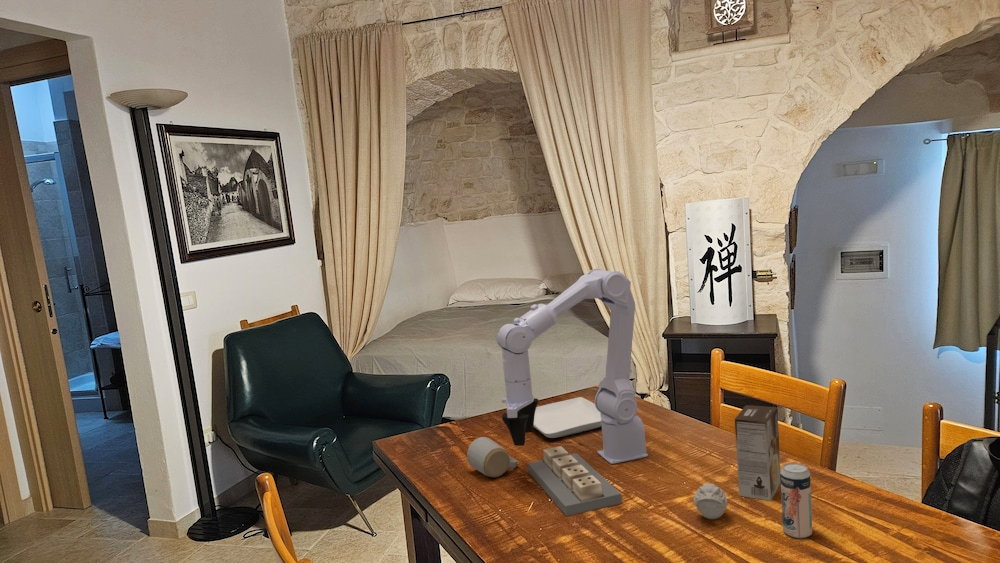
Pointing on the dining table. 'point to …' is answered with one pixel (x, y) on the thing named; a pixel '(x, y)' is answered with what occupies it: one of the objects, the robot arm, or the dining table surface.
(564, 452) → the key
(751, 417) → the coffee box
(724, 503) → the frog figurine
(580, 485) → the beige square block
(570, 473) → the beige small block
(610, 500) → the grey slotted tray
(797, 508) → the beer can
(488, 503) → the dining table surface
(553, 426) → the salad plate
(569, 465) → the cream dice block
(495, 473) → the ceramic mug
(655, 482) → the dining table surface
